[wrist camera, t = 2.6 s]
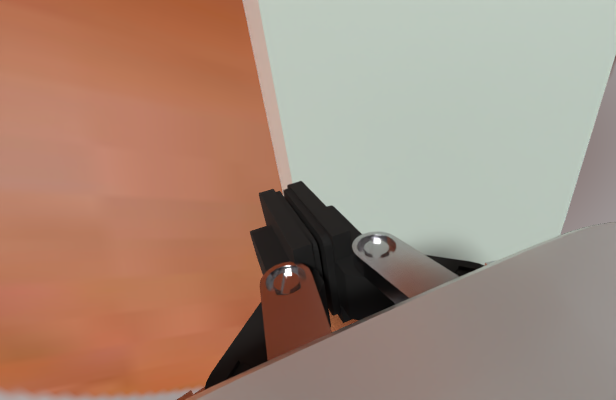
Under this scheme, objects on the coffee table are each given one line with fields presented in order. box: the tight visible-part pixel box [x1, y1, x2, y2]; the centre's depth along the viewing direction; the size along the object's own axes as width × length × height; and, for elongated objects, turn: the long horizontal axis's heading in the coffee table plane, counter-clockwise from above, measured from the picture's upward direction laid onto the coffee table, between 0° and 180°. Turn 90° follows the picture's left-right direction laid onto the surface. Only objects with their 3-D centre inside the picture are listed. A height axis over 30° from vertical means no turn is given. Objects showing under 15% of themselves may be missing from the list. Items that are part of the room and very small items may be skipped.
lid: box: [258, 0, 616, 266], centre depth 16 cm, size 14×18×1 cm
